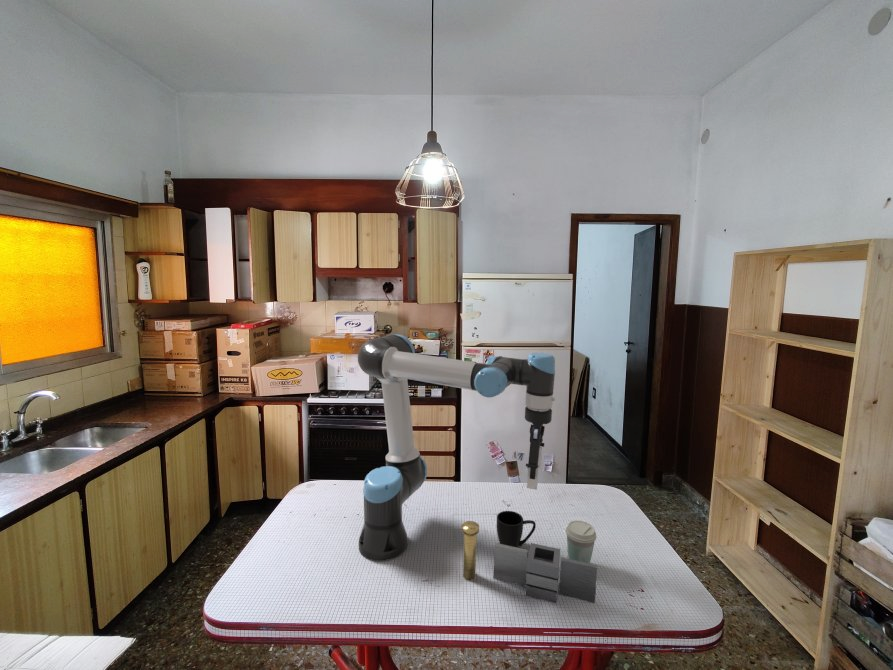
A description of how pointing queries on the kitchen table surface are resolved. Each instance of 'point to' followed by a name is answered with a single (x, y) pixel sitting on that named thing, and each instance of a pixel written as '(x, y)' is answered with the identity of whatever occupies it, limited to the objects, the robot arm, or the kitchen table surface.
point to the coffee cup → (580, 540)
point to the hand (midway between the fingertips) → (534, 477)
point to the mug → (512, 528)
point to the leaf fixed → (561, 575)
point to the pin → (470, 549)
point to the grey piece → (518, 568)
